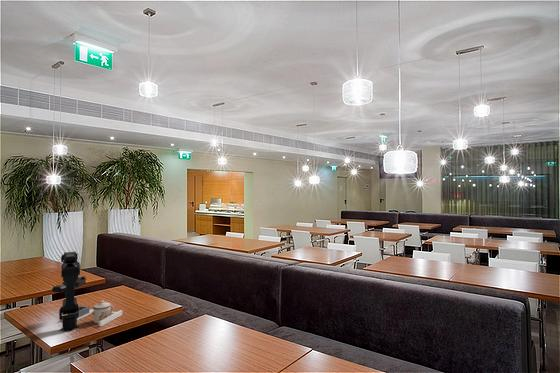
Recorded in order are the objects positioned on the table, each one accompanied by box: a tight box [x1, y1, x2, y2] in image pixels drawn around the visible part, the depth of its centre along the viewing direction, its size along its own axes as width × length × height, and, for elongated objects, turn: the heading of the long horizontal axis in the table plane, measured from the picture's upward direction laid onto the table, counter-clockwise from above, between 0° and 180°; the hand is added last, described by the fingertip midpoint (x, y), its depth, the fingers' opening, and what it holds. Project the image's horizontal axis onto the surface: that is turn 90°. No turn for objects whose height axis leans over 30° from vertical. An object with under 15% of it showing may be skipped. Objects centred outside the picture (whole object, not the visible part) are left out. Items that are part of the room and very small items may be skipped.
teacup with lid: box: [92, 300, 114, 324], centre depth 197 cm, size 12×9×12 cm
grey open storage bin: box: [67, 305, 123, 327], centre depth 198 cm, size 18×26×5 cm
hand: (69, 299), depth 196 cm, fingers closed
